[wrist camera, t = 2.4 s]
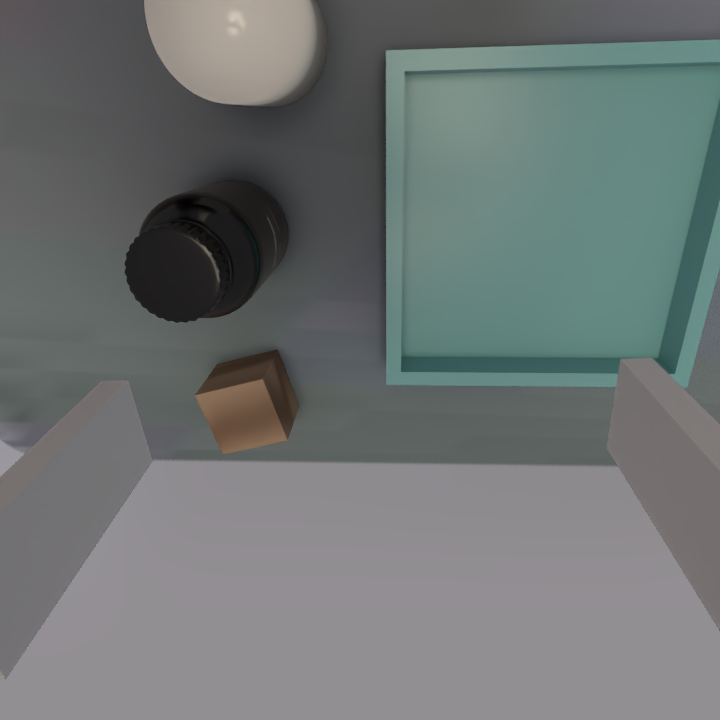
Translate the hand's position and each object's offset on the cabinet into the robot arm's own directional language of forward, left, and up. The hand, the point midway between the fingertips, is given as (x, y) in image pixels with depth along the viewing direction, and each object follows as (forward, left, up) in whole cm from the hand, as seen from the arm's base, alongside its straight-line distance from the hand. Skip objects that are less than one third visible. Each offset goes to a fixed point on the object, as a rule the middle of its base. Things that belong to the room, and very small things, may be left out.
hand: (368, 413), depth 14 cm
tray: (0, +10, -23) cm, 25 cm away
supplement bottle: (0, -10, -24) cm, 26 cm away
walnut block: (+12, -10, -24) cm, 28 cm away
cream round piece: (-11, -7, -23) cm, 27 cm away
